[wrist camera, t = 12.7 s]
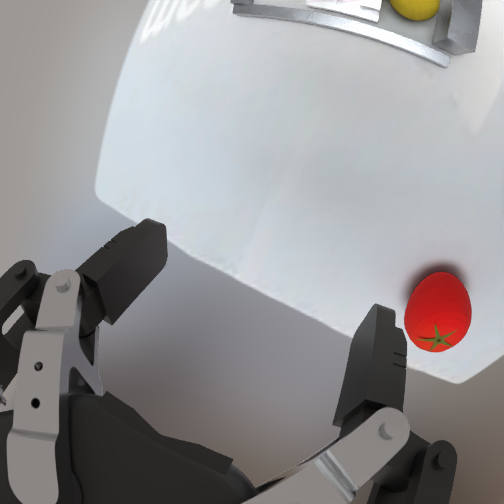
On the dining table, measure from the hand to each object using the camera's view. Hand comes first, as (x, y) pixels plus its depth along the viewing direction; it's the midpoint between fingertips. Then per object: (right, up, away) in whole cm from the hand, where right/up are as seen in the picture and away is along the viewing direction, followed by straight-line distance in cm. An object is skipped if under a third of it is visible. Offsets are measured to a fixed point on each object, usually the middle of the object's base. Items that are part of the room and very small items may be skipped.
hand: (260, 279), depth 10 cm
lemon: (+17, +28, +8) cm, 34 cm away
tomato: (+28, -4, +28) cm, 40 cm away
